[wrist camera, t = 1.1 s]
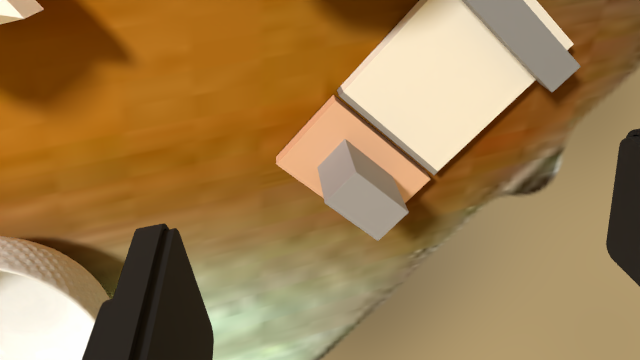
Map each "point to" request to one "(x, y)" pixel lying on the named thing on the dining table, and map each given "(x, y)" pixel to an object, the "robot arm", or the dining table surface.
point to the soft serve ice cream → (17, 9)
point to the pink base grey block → (353, 168)
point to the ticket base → (456, 72)
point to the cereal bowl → (44, 303)
